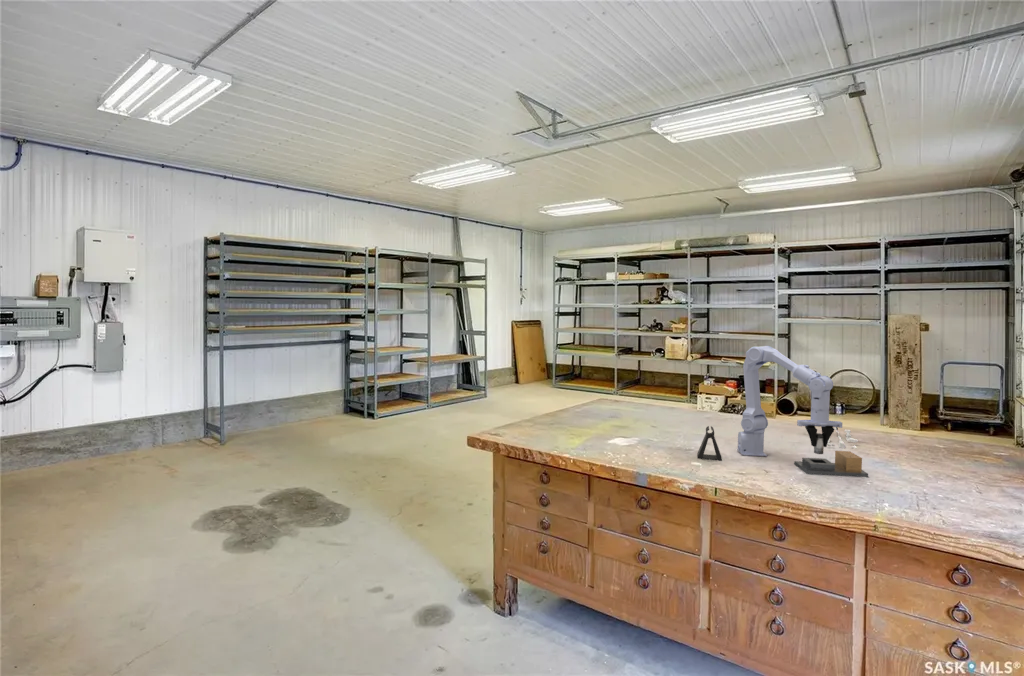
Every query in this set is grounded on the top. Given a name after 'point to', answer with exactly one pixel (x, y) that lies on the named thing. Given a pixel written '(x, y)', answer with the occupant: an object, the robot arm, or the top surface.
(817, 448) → the shiny metal cylinder
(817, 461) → the square socket plate
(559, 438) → the top surface
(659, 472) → the top surface
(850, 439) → the miniature set
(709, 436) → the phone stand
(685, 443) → the top surface
